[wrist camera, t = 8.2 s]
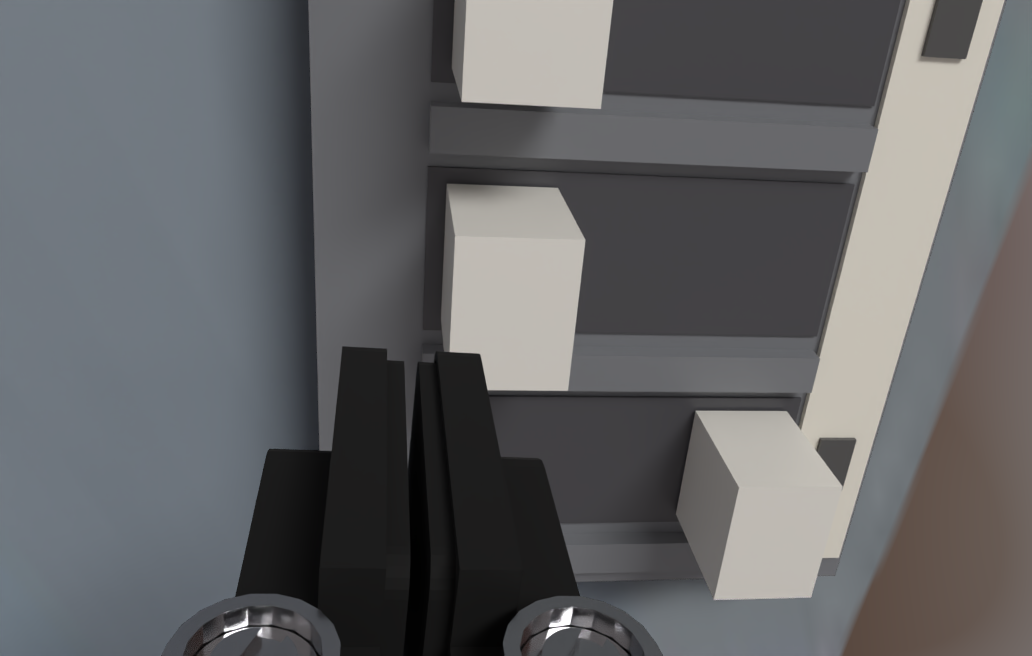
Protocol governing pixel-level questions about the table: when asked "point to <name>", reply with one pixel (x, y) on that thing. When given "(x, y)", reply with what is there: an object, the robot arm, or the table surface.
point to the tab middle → (512, 283)
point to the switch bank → (659, 230)
